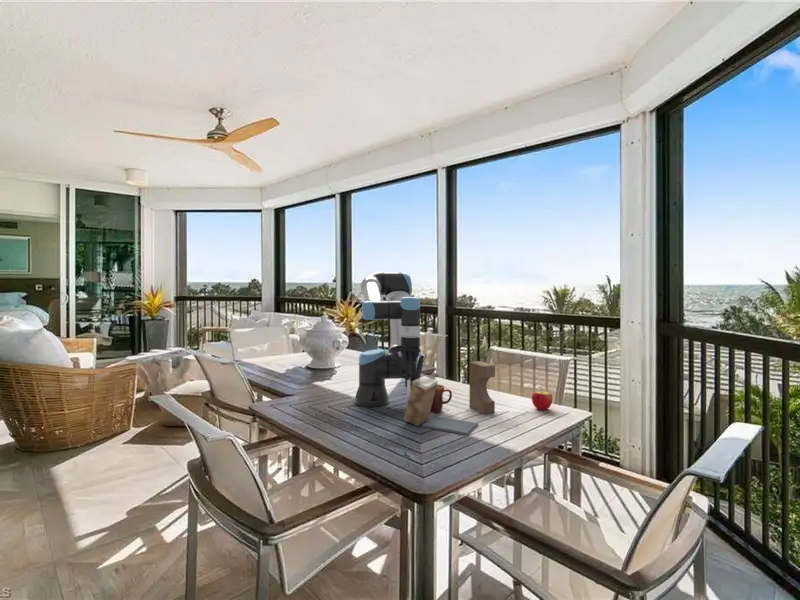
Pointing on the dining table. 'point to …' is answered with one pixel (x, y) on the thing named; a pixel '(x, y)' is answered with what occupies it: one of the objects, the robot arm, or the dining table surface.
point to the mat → (450, 425)
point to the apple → (542, 399)
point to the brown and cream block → (420, 400)
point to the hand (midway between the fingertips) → (410, 395)
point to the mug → (439, 398)
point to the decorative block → (481, 387)
